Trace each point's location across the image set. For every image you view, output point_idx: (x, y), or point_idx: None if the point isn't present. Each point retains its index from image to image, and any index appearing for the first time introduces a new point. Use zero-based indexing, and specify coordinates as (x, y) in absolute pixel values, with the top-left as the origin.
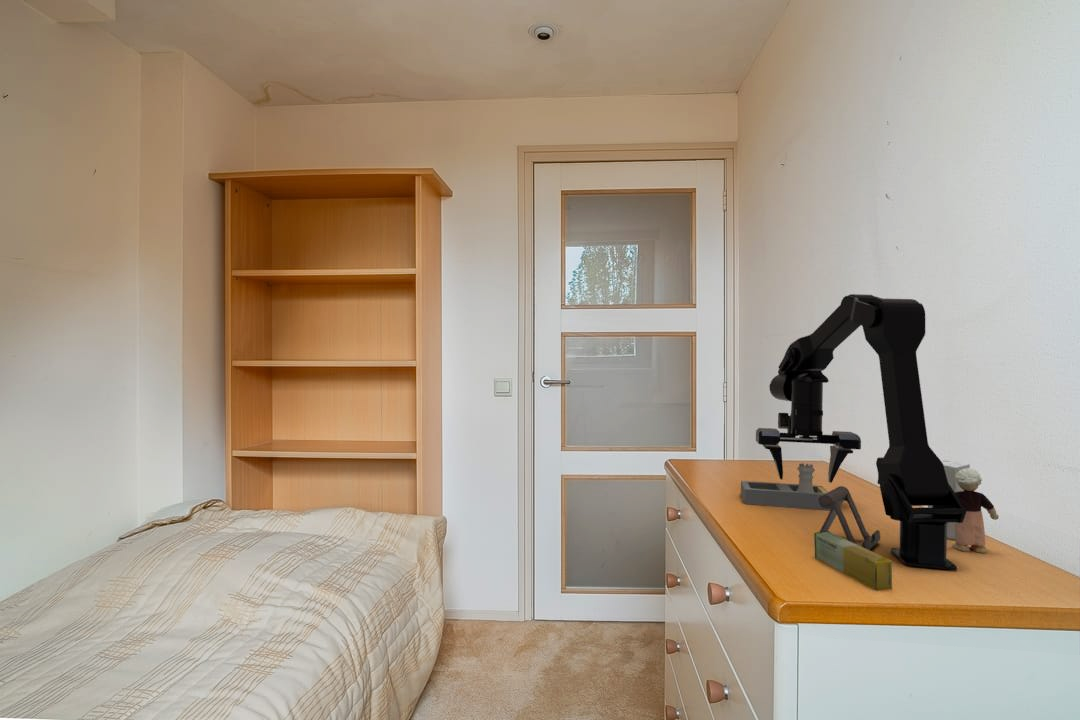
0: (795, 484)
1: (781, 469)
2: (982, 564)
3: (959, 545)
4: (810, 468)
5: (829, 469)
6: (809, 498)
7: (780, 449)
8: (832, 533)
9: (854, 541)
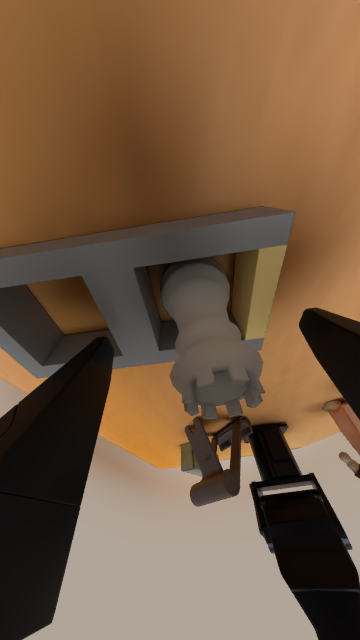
0: (164, 239)
1: (100, 403)
2: (312, 423)
3: (329, 411)
4: (234, 401)
5: (358, 352)
6: None
7: (53, 593)
8: (195, 470)
9: (217, 442)
